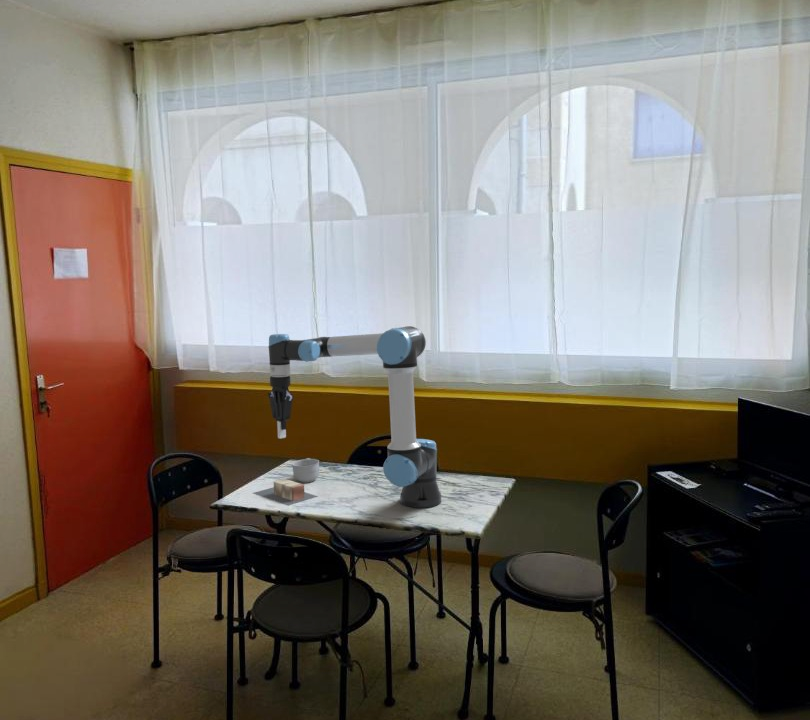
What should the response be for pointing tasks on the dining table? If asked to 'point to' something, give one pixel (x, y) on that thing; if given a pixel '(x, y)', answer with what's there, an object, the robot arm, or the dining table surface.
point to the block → (289, 489)
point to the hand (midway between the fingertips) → (281, 437)
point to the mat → (270, 495)
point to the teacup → (306, 470)
